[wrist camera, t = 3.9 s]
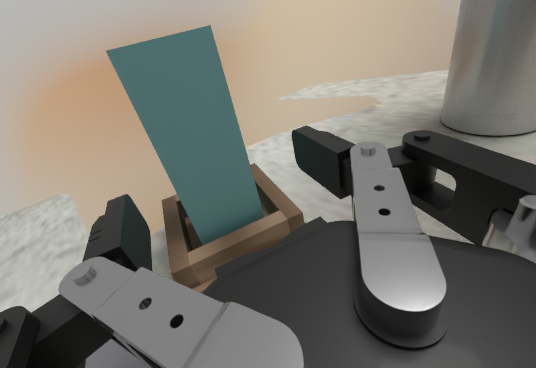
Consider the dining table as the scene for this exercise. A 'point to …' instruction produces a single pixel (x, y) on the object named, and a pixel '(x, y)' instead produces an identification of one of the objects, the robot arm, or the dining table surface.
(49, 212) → the dining table surface
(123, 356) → the rubber mat
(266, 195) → the square wooden tray
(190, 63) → the block
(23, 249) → the dining table surface
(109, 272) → the robot arm
